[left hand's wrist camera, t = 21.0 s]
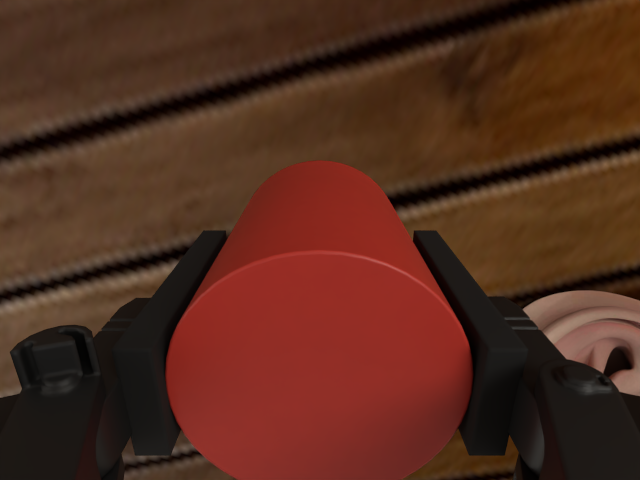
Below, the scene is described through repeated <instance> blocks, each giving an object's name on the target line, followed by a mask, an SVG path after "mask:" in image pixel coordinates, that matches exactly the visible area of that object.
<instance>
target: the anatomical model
mask: <svg viewBox="0 0 640 480" xmlns="http://www.w3.org/2000/svg"><path fill="white" fill-rule="evenodd" d="M523 311H524V312H525V313H526V314H527V315H528V316H529V317H530V320H532V321H533V322H534V323H535V324H536V325H537V326H538V329H539V330H541V331H542V332H543V333H544V334H545V335H546V336H547V338H548V339H549V340H550V341H551V342H552V343H553V344H554V346H555V347H556V348H557V349H558V350H559V351H560V352H561V353H562V355H563V356H564V357H565V358H566V359H569V360H573V361H577V362H580V363H584V364H586V365H588V366H591V367H593V368H595V369H597V370H599V371H600V372H602V373H603V374H604V375H606V376H607V377H608V378H610V379H611V380H612V382H613V383H614V384H615V385H616V387H617V388H618V390H619V392H623V393H627V394H632V395H636V396H640V301H639V300H636V299H633V298H629V297H626V296H622V295H618V294H613V293H608V292H601V291H569V292H563V293H557V294H553V295H550V296H547V297H543V298H541V299H539V300H536V301H534V302H533V303H531V304H529V305H528V306H526V307H525V308H523Z"/></svg>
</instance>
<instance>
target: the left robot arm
mask: <svg viewBox="0 0 640 480" xmlns="http://www.w3.org/2000/svg"><path fill="white" fill-rule="evenodd" d="M226 241H227V239H226V231H203V232H202V233H201V235H200V236H199V237H198V238H197V240H196V241H195V242H194V244H193V245H192V246H191V247H190V249H189V250H188V251H187V253H186V254H185V255H184V256H183V258H182V259H181V260H180V262H179V263H178V264H177V265H176V267H175V268H174V269H173V271H172V272H171V273H170V274H169V276H168V277H167V278H166V280H165V281H164V282H163V284H162V285H161V286H160V287H159V289H158V290H157V291H156V293H155V294H154V295H153V296H152V298H135V299H134V300H132V301H131V302H129V303H127V304H126V305H124V306H122V307H121V308H120V309H119V310H118V311H117V312H116V313H115V314H114V315H113V316H112V318H111V319H110V322H107V323H106V324H105V326H104V327H103V328H102V331H99V332H98V334H97V335H96V336H95V337H94V338H93V335H92V331H90V330H89V329H88V328H86V327H84V326H78V325H65V326H58V327H54V328H50V329H46V330H43V331H41V332H38V333H36V334H33V335H31V336H29V337H28V338H26V339H24V340H23V341H21V342H20V343H18V344H17V345H16V346H15V347H14V348H13V349H12V350H11V351H10V354H11V357H12V360H13V363H14V366H15V369H16V372H17V375H18V378H19V381H20V384H21V386H22V390H21V393H20V394H17V395H12V396H8V397H3V398H0V480H124V472H125V470H124V463H123V459H122V454H121V453H122V451H123V449H124V447H125V445H126V444H127V442H128V440H129V438H130V436H131V439H132V444H133V448H134V452H135V455H171V453H172V450H173V448H174V445H175V443H176V440H177V438H178V435H179V433H180V430H181V428H180V426H179V425H178V423H177V421H176V419H175V416H174V414H173V412H172V409H171V407H170V403H169V399H168V394H167V388H166V379H165V367H166V356H167V352H168V348H169V344H170V340H171V338H172V336H173V333H174V331H175V329H176V326H177V324H178V322H179V321H180V319H181V317H182V316H183V314H184V312H185V310H186V309H187V307H188V305H189V304H190V302H191V300H192V299H193V297H194V295H195V293H196V292H197V290H198V288H199V287H200V285H201V283H202V282H203V280H204V278H205V276H206V275H207V273H208V271H209V270H210V268H211V266H212V264H213V263H214V261H215V259H216V258H217V256H218V254H219V253H220V251H221V249H222V247H223V246H224V244H225V242H226ZM413 243H414V244H415V246H416V248H417V249H418V251H419V253H420V255H421V256H422V258H423V260H424V262H425V263H426V265H427V267H428V269H429V270H430V272H431V274H432V275H433V277H434V279H435V281H436V282H437V284H438V286H439V288H440V289H441V291H442V293H443V294H444V296H445V298H446V300H447V301H448V303H449V305H450V307H451V308H452V310H453V312H454V313H455V315H456V317H457V319H458V320H459V322H460V324H461V326H462V328H463V330H464V333H465V335H466V337H467V340H468V343H469V347H470V351H471V355H472V363H473V383H472V393H471V397H470V401H469V404H468V408H467V410H466V413H465V415H464V417H463V420H462V422H461V424H460V425H459V427H458V428H459V431H460V433H461V436H462V439H463V441H464V444H465V446H466V449H467V451H468V454H469V455H505V451H506V447H507V442H508V438H509V435H510V436H511V438H512V440H513V442H514V444H515V446H516V448H517V449H518V451H519V454H518V459H517V463H516V467H515V471H514V475H513V479H512V480H640V396H636V395H632V394H627V393H623V392H619V390H618V388H617V387H616V385H615V384H614V383H613V382H612V380H611V379H610V378H608V377H607V376H606V375H604V374H603V373H602V372H600V371H599V370H597V369H595V368H593V367H591V366H588V365H586V364H584V363H580V362H577V361H573V360H569V359H566V358H565V357H564V356H563V355H562V353H561V352H560V351H559V350H558V349H557V348H556V347H555V346H554V344H553V343H552V342H551V341H550V340H549V339H548V338H547V336H546V335H545V334H544V333H543V332H542V331H541V330H539V329H538V326H537V325H536V324H535V323H534V322H533V321H532V320H530V317H529V316H528V315H527V314H526V313H525V312H524V311H523V309H522V308H521V307H520V306H518V305H517V304H515V303H513V302H512V301H510V300H508V299H507V298H505V297H487V295H486V294H485V293H484V292H483V290H482V289H481V288H480V286H479V285H478V284H477V283H476V281H475V280H474V279H473V277H472V276H471V275H470V274H469V272H468V271H467V270H466V268H465V267H464V266H463V265H462V263H461V262H460V261H459V259H458V258H457V257H456V255H455V254H454V253H453V252H452V250H451V249H450V248H449V246H448V245H447V244H446V243H445V241H444V240H443V239H442V237H441V236H440V235H439V234H438V232H437V231H414V236H413Z"/></svg>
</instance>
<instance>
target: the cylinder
mask: <svg viewBox="0 0 640 480" xmlns="http://www.w3.org/2000/svg"><path fill="white" fill-rule="evenodd" d="M165 379H166V388H167V394H168V399H169V403H170V407H171V409H172V412H173V414H174V416H175V419H176V421H177V423H178V425H179V426H180V428H181V430H182V431H183V433H184V435H185V436H186V437H187V438H188V440H189V441H190V442H191V443H192V445H193V446H194V447H195V448H196V449H197V450H198V451H199V452H200V453H201V454H202V455H203V456H204V457H205V458H206V459H207V460H208V461H210V462H211V463H212V464H214V465H215V466H216V467H218V468H219V469H220V470H222V471H224V472H225V473H227V474H229V475H230V476H232V477H234V478H236V479H238V480H401V479H403V478H405V477H406V476H408V475H410V474H411V473H413V472H415V471H417V470H418V469H419V468H421V467H422V466H423V465H425V464H426V463H427V462H429V461H430V460H431V459H432V458H433V457H434V456H436V455H437V454H438V453H439V452H440V451H441V450H442V449H443V448H444V446H445V445H446V444H447V443H448V442H449V440H450V439H451V438H452V437H453V435H454V434H455V432H456V430H457V429H458V427H459V425H460V424H461V422H462V420H463V417H464V415H465V413H466V410H467V408H468V404H469V401H470V397H471V393H472V383H473V363H472V355H471V351H470V347H469V343H468V340H467V337H466V335H465V333H464V330H463V328H462V326H461V324H460V322H459V320H458V319H457V317H456V315H455V313H454V312H453V310H452V308H451V307H450V305H449V303H448V301H447V300H446V298H445V296H444V294H443V293H442V291H441V289H440V288H439V286H438V284H437V282H436V281H435V279H434V277H433V275H432V274H431V272H430V270H429V269H428V267H427V265H426V263H425V262H424V260H423V258H422V256H421V255H420V253H419V251H418V249H417V248H416V246H415V244H414V243H413V241H412V239H411V237H410V236H409V234H408V232H407V230H406V229H405V227H404V225H403V224H402V222H401V220H400V218H399V217H398V215H397V213H396V211H395V210H394V208H393V206H392V205H391V203H390V201H389V199H388V198H387V196H386V195H385V193H384V192H383V191H382V189H381V188H380V187H379V186H378V185H377V184H376V183H375V182H374V181H373V180H372V179H371V178H370V177H368V176H367V175H365V174H364V173H362V172H361V171H359V170H357V169H355V168H353V167H350V166H347V165H345V164H342V163H337V162H332V161H307V162H302V163H298V164H295V165H292V166H289V167H287V168H285V169H282V170H280V171H278V172H277V173H275V174H274V175H273V176H271V177H270V178H268V179H267V180H266V181H265V182H264V183H263V184H262V185H261V186H260V187H259V188H258V190H257V191H256V192H255V193H254V195H253V197H252V198H251V200H250V201H249V203H248V205H247V207H246V208H245V210H244V212H243V213H242V215H241V217H240V218H239V220H238V222H237V224H236V225H235V227H234V229H233V230H232V232H231V234H230V236H229V237H228V239H227V241H226V242H225V244H224V246H223V247H222V249H221V251H220V253H219V254H218V256H217V258H216V259H215V261H214V263H213V264H212V266H211V268H210V270H209V271H208V273H207V275H206V276H205V278H204V280H203V282H202V283H201V285H200V287H199V288H198V290H197V292H196V293H195V295H194V297H193V299H192V300H191V302H190V304H189V305H188V307H187V309H186V310H185V312H184V314H183V316H182V317H181V319H180V321H179V322H178V324H177V326H176V329H175V331H174V333H173V336H172V338H171V340H170V344H169V348H168V352H167V356H166V367H165Z"/></svg>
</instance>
